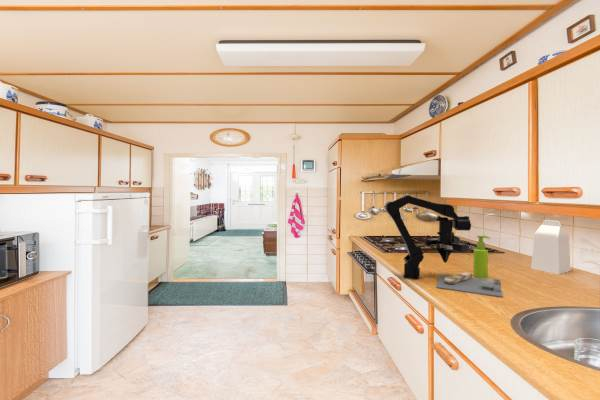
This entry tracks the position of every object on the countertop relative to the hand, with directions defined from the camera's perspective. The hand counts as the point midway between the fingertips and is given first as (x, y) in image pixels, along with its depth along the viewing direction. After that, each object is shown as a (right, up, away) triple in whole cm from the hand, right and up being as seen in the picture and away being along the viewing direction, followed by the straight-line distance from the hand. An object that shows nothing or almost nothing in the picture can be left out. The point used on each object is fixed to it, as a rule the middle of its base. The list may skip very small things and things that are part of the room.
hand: (445, 262), depth 140 cm
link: (+3, -7, -6) cm, 10 cm away
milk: (+61, -7, +12) cm, 63 cm away
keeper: (+11, -8, -17) cm, 21 cm away
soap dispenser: (+19, -8, +2) cm, 20 cm away
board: (+5, -8, -10) cm, 14 cm away
